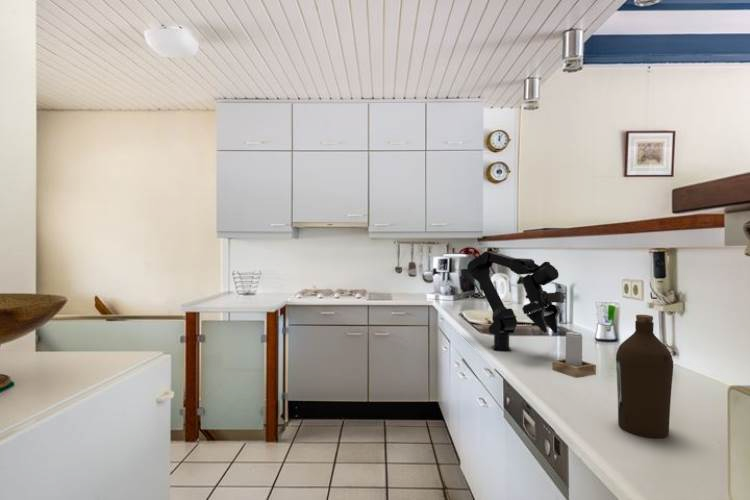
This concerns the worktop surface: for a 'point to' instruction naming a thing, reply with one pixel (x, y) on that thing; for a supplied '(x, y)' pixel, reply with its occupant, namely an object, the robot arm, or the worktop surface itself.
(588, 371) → the walnut socket
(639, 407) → the olive oil
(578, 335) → the beverage can
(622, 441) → the worktop surface
